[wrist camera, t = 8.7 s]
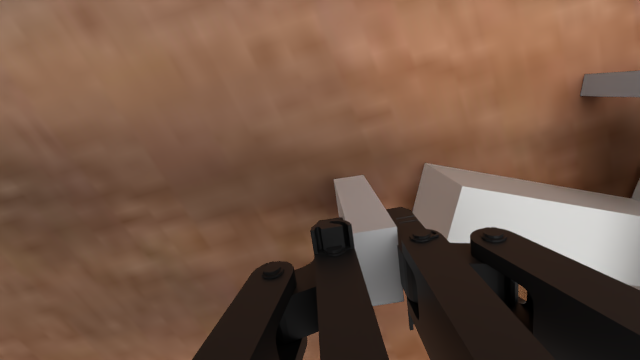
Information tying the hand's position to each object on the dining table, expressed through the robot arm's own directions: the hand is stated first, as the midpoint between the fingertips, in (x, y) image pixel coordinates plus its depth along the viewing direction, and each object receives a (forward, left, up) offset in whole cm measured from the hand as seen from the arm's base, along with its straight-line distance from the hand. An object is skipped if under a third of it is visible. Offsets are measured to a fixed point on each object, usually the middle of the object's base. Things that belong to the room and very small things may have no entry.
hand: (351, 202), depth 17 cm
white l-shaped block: (+12, -1, -4) cm, 13 cm away
